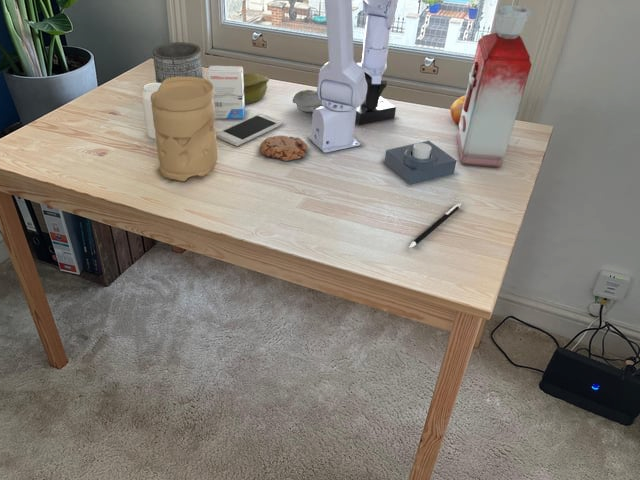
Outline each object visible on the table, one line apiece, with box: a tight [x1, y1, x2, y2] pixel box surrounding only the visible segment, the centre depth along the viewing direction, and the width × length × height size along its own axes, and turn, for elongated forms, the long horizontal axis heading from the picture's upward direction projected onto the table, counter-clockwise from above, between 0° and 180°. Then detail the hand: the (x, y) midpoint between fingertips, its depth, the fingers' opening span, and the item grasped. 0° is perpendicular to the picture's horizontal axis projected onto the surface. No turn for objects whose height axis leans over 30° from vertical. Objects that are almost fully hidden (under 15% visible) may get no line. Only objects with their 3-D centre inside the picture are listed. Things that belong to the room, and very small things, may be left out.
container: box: [151, 76, 219, 182], centre depth 119 cm, size 13×13×18 cm
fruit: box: [449, 94, 466, 126], centre depth 138 cm, size 8×8×8 cm
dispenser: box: [383, 140, 457, 185], centre depth 122 cm, size 11×11×5 cm
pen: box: [408, 203, 462, 249], centre depth 107 cm, size 1×19×1 cm, turn 138°
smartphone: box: [216, 113, 282, 147], centre depth 138 cm, size 7×15×1 cm, turn 136°
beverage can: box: [141, 82, 162, 141], centre depth 133 cm, size 6×6×12 cm
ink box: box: [206, 65, 246, 120], centre depth 142 cm, size 9×5×12 cm, turn 84°
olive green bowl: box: [243, 72, 270, 104], centre depth 151 cm, size 11×12×7 cm
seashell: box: [292, 89, 323, 113], centre depth 145 cm, size 12×8×5 cm
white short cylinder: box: [412, 142, 432, 159], centre depth 118 cm, size 4×4×2 cm
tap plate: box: [355, 95, 397, 126], centre depth 144 cm, size 10×9×3 cm
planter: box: [152, 41, 204, 83], centre depth 150 cm, size 12×12×13 cm
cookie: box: [259, 135, 308, 162], centre depth 129 cm, size 10×11×3 cm
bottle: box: [456, 5, 533, 168], centre depth 119 cm, size 14×10×30 cm
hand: (369, 102), depth 143 cm, fingers open, 7 cm apart
